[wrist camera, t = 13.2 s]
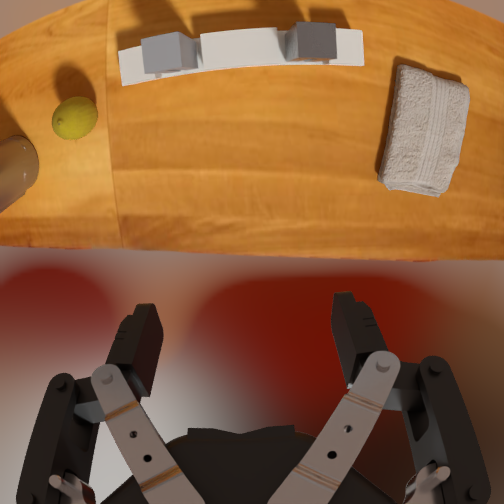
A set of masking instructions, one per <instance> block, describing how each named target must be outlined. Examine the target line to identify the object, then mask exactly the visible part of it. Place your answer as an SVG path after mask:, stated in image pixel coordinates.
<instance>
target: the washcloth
mask: <svg viewBox="0 0 504 504" xmlns="http://www.w3.org/2000/svg"><path fill="white" fill-rule="evenodd" d="M397 67H398V68H397V76H396V80H395V82H396V86H395V87H394V90H395V91H394V99H393V104H392V108H391V115H390V119H389V120H390V121H389V127H388V128H389V129H388V134H387V139H386V146H385V150H384V155H383V158H382V162H381V167H380V171H379V174H378V181H379V182H381V183H383V184H385V186H386V187H387V188H388V189H389V190H394V189H397V190H404V191H409V192H414V193H420V194H424V195H430V196H435V197H439V196H440V193H443V192H445V191H446V190H447V189H448V186H449V183H450V180H451V177H452V174H453V172H454V169H455V167H456V166H457V165H458V163H459V155H460V150H461V145H462V140H463V137H464V133H465V127H466V117H467V113H468V107H469V102H470V96H469V88H468V87H467V86H466V85H464V84H463V83H459V82H456V81H453V80H447V79H442V78H440V77H437V76H433V75H432V73H430V72H427V71H424V70H421V69H419V68H413V67H411V66H408V65H404V64H400V65H399V66H398V65H397Z"/></svg>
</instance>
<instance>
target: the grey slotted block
mask: <svg viewBox="0 0 504 504" xmlns="http://www.w3.org/2000/svg"><path fill="white" fill-rule="evenodd" d="M285 52H286V62H299V61H303V60H304V62H320V61H326V60H333V59H337V43H336V24H335V23H320V22H295V24H294V25H293V26H292V27H291V28H290V29H289V30H288V31H287V32H286V33H285Z"/></svg>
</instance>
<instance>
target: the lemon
mask: <svg viewBox="0 0 504 504" xmlns="http://www.w3.org/2000/svg"><path fill="white" fill-rule="evenodd" d="M97 118H98V111H97V107H96V105H95V103H94V102H93V101H92V100H90V99H88V98H86V97H82V96H76V97H72V98H69V99H67V100H65V101H64V102H62V103H61V104H60V105H59V106H58V107H57V108H56V110H55V112H54V114H53V117H52V127H53V130H54V132H55V133H56V134H57V135H58V136H59V137H60V138H63V139H66V140H75V139H79V138H82V137H84V136H86V135H87V134H88V133H89V132H91V131H92V129H93V128H94V126H95V124H96V122H97Z"/></svg>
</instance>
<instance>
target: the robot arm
mask: <svg viewBox="0 0 504 504" xmlns="http://www.w3.org/2000/svg"><path fill="white" fill-rule="evenodd" d="M38 170H39V162H38V156H37V154H36V151H35V149H34V147H33V145H32V144H31V143H30V142H29V141H28V140H27V139H26V138H24V137H22V136H12V137H9V138H7V139H5V140H3V141H0V213H1V212H2V211H4V210H5V209H6V208H7V207H9V206H10V205H11V204H13V203H14V202H15V201H16V200H18V199H19V198H20V197H22V196H23V195H24V194H25V191H26V190H27V189H28V188H30V187H31V186H32V185H33V184H34V182H35V181H36V179H37V175H38ZM331 328H332V333H333V336H334V340H335V344H336V347H337V351H338V354H339V358H340V362H341V366H342V370H343V374H344V378H345V382H346V386H347V389H349V388H351V389H350V391H349V392H348V394H345V395H344V397H343V398H342V400H341V401H340V403H339V405H338V406H337V408H336V410H335V411H334V413H333V414H332V416H331V418H330V419H329V421H328V422H327V424H326V425H325V427H324V428H323V430H322V431H321V433H320V434H319V436H318V437H317V438H315V437H313V436H311V435H308V434H306V433H301V432H295V429H294V425H287V426H273V427H266V428H262V429H258V430H255V431H251V432H247V433H243V434H236V433H232V432H227V431H222V430H218V429H213V428H208V429H207V428H188V434H187V435H184V436H181V437H178V438H176V439H173V440H172V441H170V442H168V443H167V444H166V443H165V442H164V441H163V439H162V438H161V436H160V435H159V433H158V431H157V430H156V428H155V427H154V425H153V424H152V422H151V420H150V419H149V417H148V416H147V414H146V412H145V411H144V409H143V407H142V406H141V404H140V401H141V397H150V394H151V390H152V385H153V381H154V376H155V372H156V368H157V363H158V359H159V355H160V351H161V347H162V343H163V327H162V325H161V322H160V319H159V316H158V313H157V310H156V307H155V305H154V304H153V303H152V304H151V303H149V304H137V305H136V308H135V310H134V313H133V315H127V317H126V318H125V319H124V320H123V321H122V322H121V324H120V326H119V329H118V333H117V334H116V336H115V340H114V342H113V344H112V347H111V350H110V352H109V355H108V358H107V360H106V363H105V365H102V366H100V367H98V368H97V369H96V370H95V371H94V372H93V374H92V376H91V377H87V378H82V379H77V380H75V379H74V378H73V377H72V376H71V375H70V374H67V373H61V374H58V375H56V376H55V377H53V378H52V380H51V381H50V382H49V385H48V387H47V390H46V393H45V396H44V398H43V401H42V404H41V407H40V410H39V413H38V416H37V420H36V423H35V425H34V429H33V432H32V435H31V439H30V442H29V445H28V449H27V453H26V456H25V460H24V464H23V468H22V472H21V476H20V480H19V485H18V489H17V495H16V502H17V504H96V500H95V493H94V491H93V489H92V488H91V487H90V486H89V485H88V484H89V477H90V472H91V465H92V460H93V454H94V449H95V444H96V439H97V434H98V429H99V425H100V422H103V421H106V424H107V426H108V428H109V430H110V432H111V434H112V436H113V438H114V440H115V442H116V444H117V446H118V448H119V450H120V451H121V454H122V455H123V457H124V459H125V461H126V463H127V465H128V466H129V468H130V470H131V471H132V473H133V475H132V476H131V477H130V478H128V479H127V480H126V481H125V482H124V483H123V484H122V485H121V486H120V487H119V488H117V489H116V490H115V491H114V492H113V493H112V494H110V495H109V496H108V497H107V498H106V499H105V500H104V501H102V502H101V503H100V504H397V503H396V502H395V501H394V500H393V499H392V498H391V497H390V496H388V495H387V494H386V493H384V492H383V491H382V490H381V489H379V488H378V487H377V486H375V485H374V484H373V483H372V482H370V481H369V480H368V479H366V478H365V477H364V476H363V475H361V474H360V473H359V472H358V471H357V470H355V469H354V468H353V467H352V464H353V463H354V461H355V459H356V457H357V456H358V454H359V452H360V450H361V449H362V447H363V445H364V443H365V441H366V440H367V438H368V435H369V434H370V432H371V430H372V428H373V426H374V424H375V422H376V420H377V418H378V416H379V414H380V412H381V410H382V409H389V410H400V411H402V413H403V417H404V421H405V425H406V429H407V433H408V437H409V442H410V446H411V450H412V454H413V459H414V465H415V469H416V475H415V476H413V477H412V478H411V479H410V481H409V482H408V484H407V486H406V497H405V500H404V502H403V504H486V503H487V502H488V500H489V498H490V494H491V487H490V482H489V478H488V475H487V471H486V467H485V464H484V460H483V457H482V454H481V450H480V447H479V444H478V441H477V438H476V435H475V432H474V429H473V426H472V423H471V420H470V417H469V414H468V412H467V409H466V406H465V403H464V401H463V398H462V395H461V393H460V390H459V388H458V385H457V383H456V380H455V378H454V376H453V373H452V371H451V368H450V366H449V364H448V363H447V362H446V361H445V360H444V359H443V358H441V357H438V356H428V357H426V358H424V359H423V360H422V362H421V363H420V364H417V363H407V362H402V361H399V359H398V358H397V357H396V356H395V355H394V354H392V353H390V352H389V351H388V349H387V346H386V344H385V341H384V339H383V336H382V334H381V332H380V329H379V327H378V326H377V322H376V320H375V318H374V315H373V313H372V310H371V308H370V307H368V305H366V304H365V303H364V302H363V301H362V302H356V301H355V298H354V296H353V294H352V292H351V291H347V292H336V293H334V297H333V306H332V315H331Z"/></svg>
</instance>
